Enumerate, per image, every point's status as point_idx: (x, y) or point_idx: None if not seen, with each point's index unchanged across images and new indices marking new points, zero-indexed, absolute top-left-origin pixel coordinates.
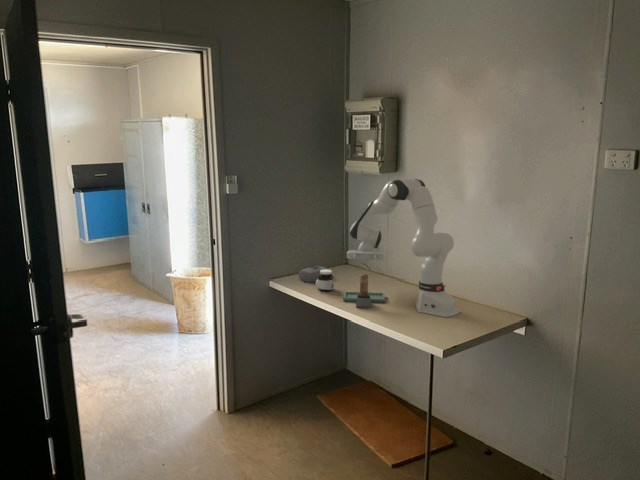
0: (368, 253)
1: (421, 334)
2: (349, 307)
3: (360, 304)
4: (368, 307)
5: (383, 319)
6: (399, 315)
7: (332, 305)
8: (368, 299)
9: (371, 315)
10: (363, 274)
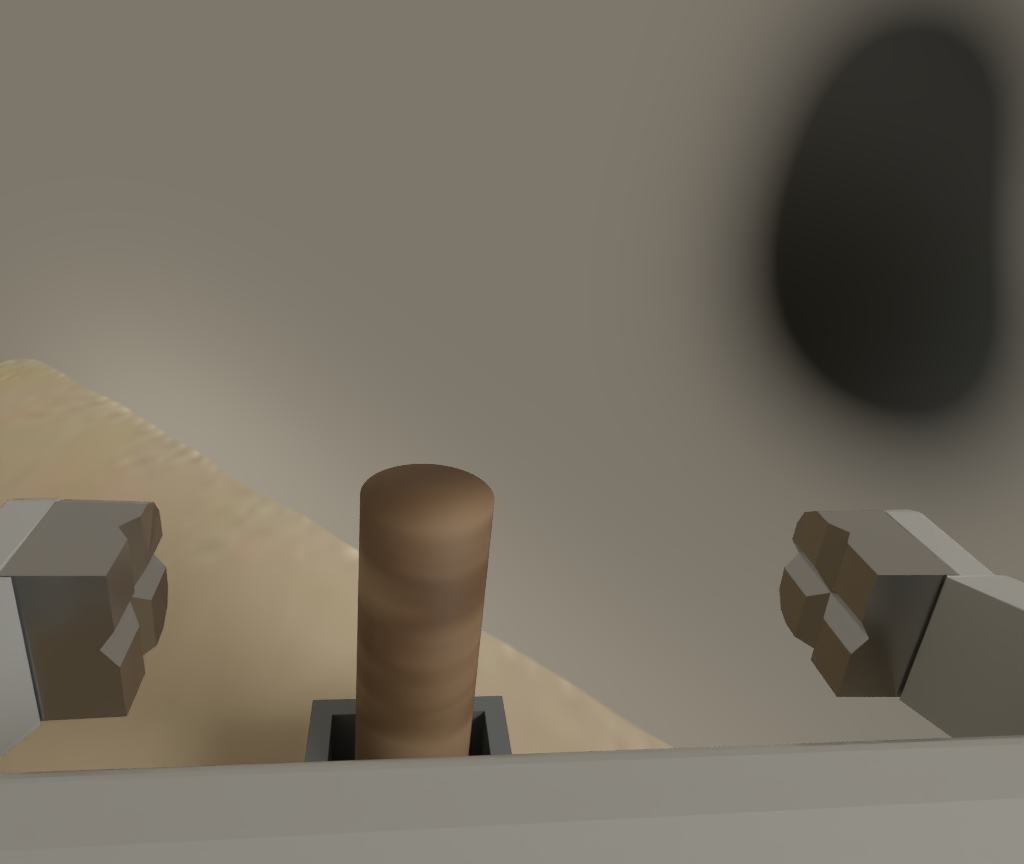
0: (300, 762)
1: (47, 432)
2: None
3: None
4: None
5: (230, 568)
6: None
7: None
8: (345, 705)
9: (323, 623)
10: (443, 515)
